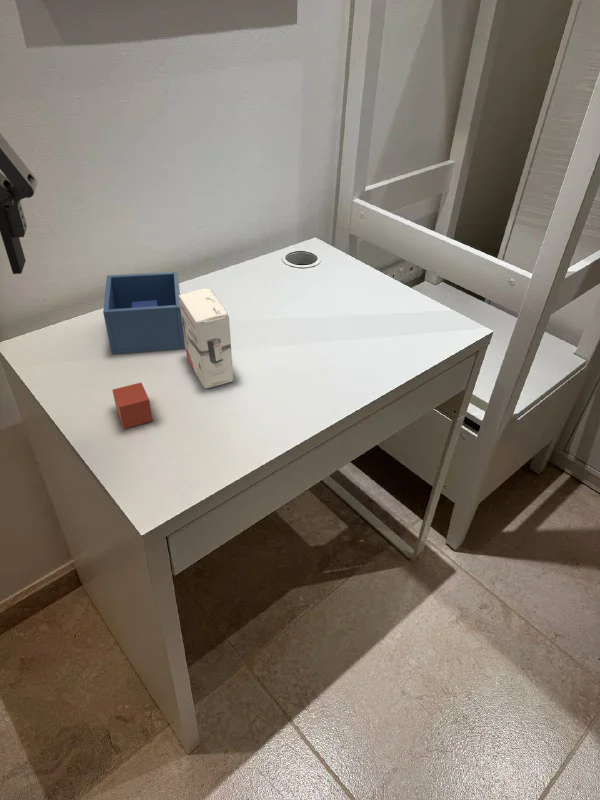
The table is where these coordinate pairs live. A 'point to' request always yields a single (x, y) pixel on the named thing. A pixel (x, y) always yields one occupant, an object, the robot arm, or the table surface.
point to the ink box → (207, 337)
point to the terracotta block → (132, 405)
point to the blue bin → (143, 313)
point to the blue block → (144, 304)
